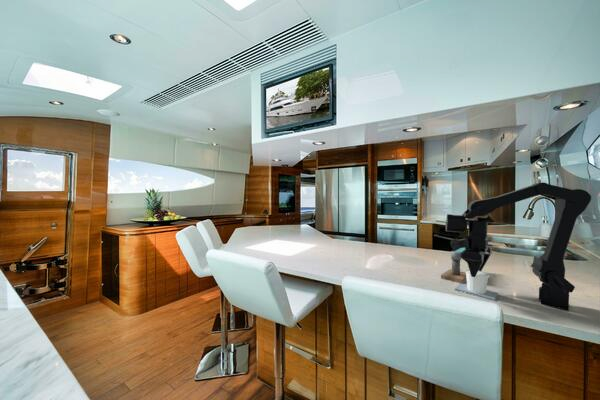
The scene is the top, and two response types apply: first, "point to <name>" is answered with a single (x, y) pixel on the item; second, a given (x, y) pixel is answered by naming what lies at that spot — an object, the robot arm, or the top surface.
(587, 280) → the top surface
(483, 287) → the white tapered cup
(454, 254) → the bar
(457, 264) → the stand
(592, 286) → the top surface
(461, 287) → the slate mat
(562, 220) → the robot arm
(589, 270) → the top surface
